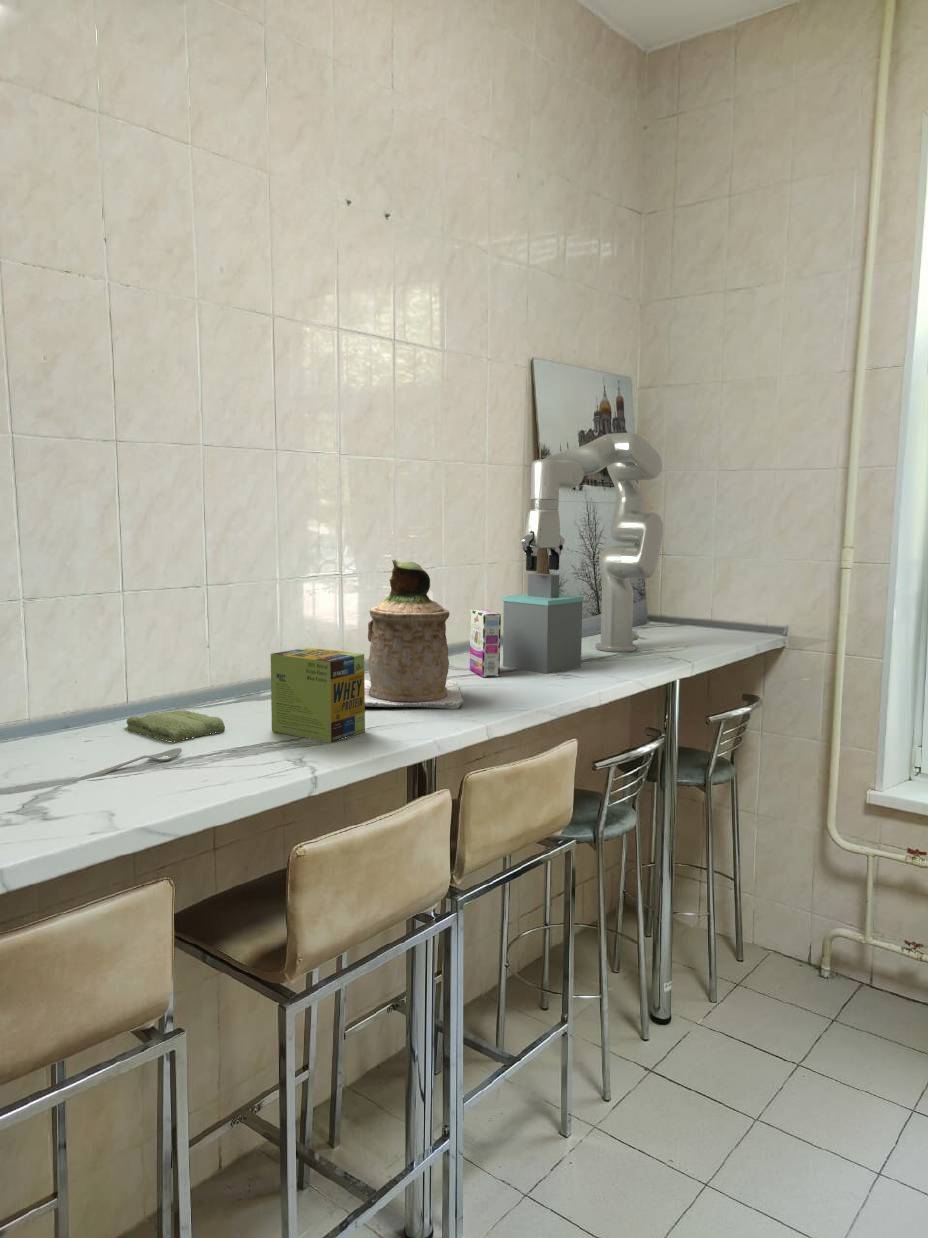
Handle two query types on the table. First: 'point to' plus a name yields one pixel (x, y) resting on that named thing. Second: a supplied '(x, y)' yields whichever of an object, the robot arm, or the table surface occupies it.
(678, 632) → the table surface
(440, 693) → the cookie jar
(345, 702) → the protein box
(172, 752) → the spoon
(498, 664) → the candy bar box
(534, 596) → the lid
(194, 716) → the washcloth
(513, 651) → the bin
